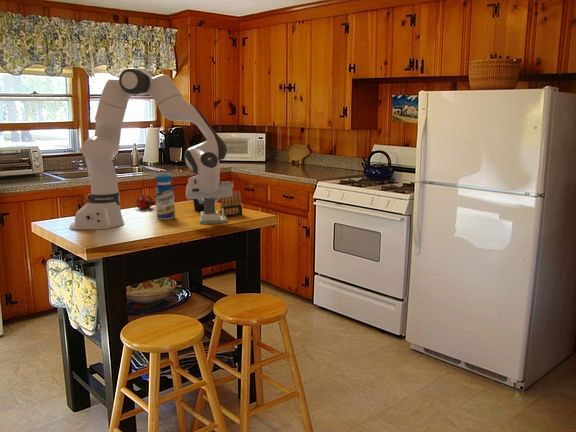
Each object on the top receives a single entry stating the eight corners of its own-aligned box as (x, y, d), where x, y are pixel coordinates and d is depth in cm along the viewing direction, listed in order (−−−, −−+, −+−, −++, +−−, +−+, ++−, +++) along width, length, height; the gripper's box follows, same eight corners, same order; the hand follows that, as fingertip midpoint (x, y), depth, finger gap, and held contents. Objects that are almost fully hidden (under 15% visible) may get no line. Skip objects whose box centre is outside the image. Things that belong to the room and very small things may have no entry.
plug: (205, 213, 246) (204, 193, 244) (204, 211, 250) (203, 192, 249) (215, 213, 247) (214, 193, 245) (214, 211, 251) (213, 191, 249)
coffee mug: (189, 211, 273) (188, 191, 271) (197, 208, 281) (196, 188, 279) (211, 212, 270) (210, 192, 268) (218, 209, 278) (217, 189, 276)
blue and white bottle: (175, 215, 263) (172, 173, 259) (175, 219, 255) (173, 175, 251) (156, 216, 261) (154, 174, 257) (156, 220, 253) (154, 176, 249)
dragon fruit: (142, 209, 288) (150, 216, 279) (129, 201, 283) (136, 208, 273) (151, 196, 289) (159, 202, 279) (138, 187, 283) (146, 194, 274)
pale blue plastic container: (200, 223, 244) (199, 212, 243) (199, 219, 254) (198, 208, 253) (227, 222, 246) (227, 211, 245) (225, 218, 256) (225, 207, 255)
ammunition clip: (240, 214, 264) (239, 189, 261) (242, 215, 262) (241, 190, 260) (220, 217, 258) (219, 191, 256) (222, 217, 256) (221, 192, 254)
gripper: (232, 175, 241) (231, 194, 252) (184, 177, 237) (185, 196, 248) (234, 187, 237) (233, 206, 249) (185, 189, 234) (186, 208, 245)
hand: (209, 201), depth 248 cm, fingers closed on plug, 4 cm apart
